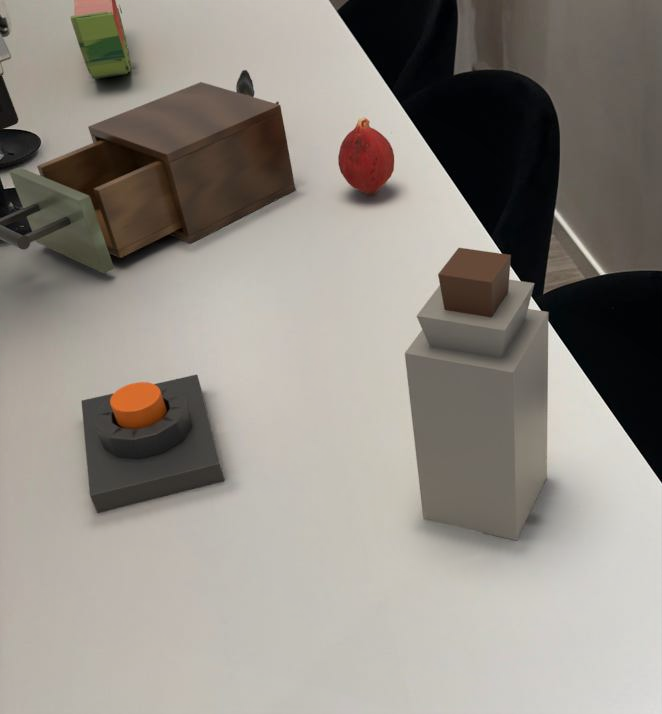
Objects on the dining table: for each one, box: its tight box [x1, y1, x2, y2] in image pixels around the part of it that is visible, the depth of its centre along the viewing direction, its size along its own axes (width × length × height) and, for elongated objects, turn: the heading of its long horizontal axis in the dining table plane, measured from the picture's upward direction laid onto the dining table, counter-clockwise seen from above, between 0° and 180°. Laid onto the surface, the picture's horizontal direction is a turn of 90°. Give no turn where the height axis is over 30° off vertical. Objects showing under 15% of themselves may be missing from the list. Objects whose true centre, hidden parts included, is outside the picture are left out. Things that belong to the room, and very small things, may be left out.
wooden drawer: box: [0, 139, 182, 274], centre depth 94 cm, size 19×11×7 cm, turn 142°
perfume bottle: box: [404, 247, 549, 541], centre depth 61 cm, size 7×7×18 cm
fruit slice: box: [70, 0, 132, 80], centre depth 134 cm, size 26×6×10 cm, turn 18°
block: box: [80, 374, 225, 514], centre depth 72 cm, size 12×9×4 cm
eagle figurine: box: [235, 69, 280, 105], centre depth 115 cm, size 8×7×9 cm
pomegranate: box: [337, 117, 395, 196], centre depth 101 cm, size 6×6×8 cm
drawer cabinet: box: [87, 81, 297, 244], centre depth 101 cm, size 15×13×9 cm
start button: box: [110, 381, 167, 429], centre depth 70 cm, size 4×4×2 cm
